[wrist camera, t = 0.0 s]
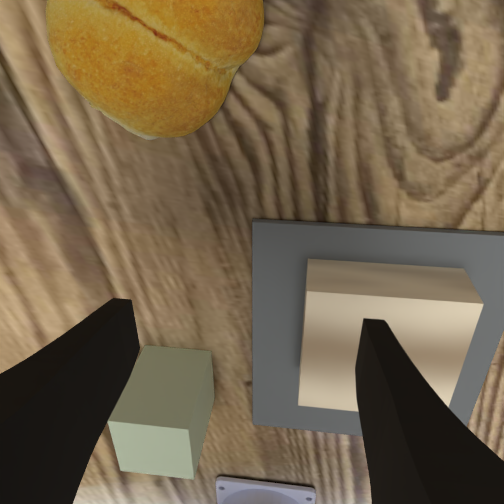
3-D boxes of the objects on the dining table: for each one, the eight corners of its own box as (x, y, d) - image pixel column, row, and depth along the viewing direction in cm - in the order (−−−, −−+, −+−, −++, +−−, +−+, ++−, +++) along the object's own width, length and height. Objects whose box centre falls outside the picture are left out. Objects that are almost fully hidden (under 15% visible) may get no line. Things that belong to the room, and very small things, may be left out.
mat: (457, 441, 29) (458, 446, 29) (253, 419, 31) (252, 424, 30) (535, 234, 21) (539, 237, 21) (253, 218, 22) (252, 221, 22)
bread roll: (300, -26, 17) (297, -32, 14) (194, 153, 21) (171, 182, 18) (116, -172, 16) (60, -221, 12) (41, 53, 20) (-15, 64, 16)
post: (214, 398, 30) (194, 479, 25) (153, 391, 31) (120, 470, 25) (211, 350, 28) (188, 429, 23) (145, 344, 28) (107, 420, 23)
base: (431, 378, 26) (444, 420, 23) (299, 367, 27) (298, 405, 24) (464, 268, 22) (483, 303, 19) (307, 258, 23) (306, 291, 20)
